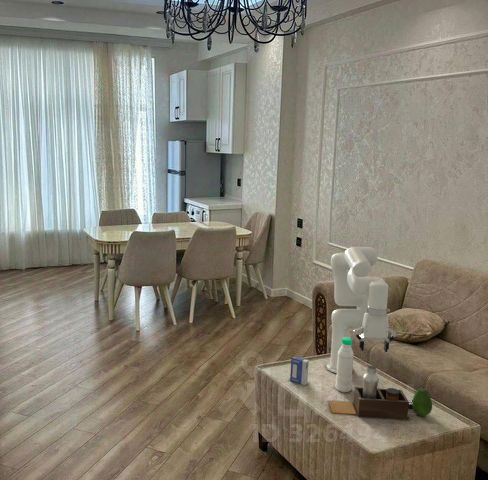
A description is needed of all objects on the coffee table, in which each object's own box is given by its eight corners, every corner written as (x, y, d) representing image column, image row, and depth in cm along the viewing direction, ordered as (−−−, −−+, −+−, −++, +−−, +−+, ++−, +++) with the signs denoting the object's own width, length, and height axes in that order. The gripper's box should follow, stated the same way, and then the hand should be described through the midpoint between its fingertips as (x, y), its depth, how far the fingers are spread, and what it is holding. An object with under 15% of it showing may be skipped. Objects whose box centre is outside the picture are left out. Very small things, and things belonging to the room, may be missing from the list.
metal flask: (379, 414, 230) (383, 370, 226) (364, 415, 228) (368, 371, 224) (371, 406, 236) (375, 363, 232) (357, 407, 235) (360, 364, 231)
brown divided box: (353, 403, 238) (354, 386, 236) (399, 406, 236) (401, 389, 234) (358, 416, 227) (359, 399, 226) (407, 419, 225) (409, 402, 224)
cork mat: (328, 401, 240) (328, 400, 239) (351, 403, 239) (351, 402, 238) (332, 413, 230) (332, 412, 230) (356, 414, 229) (356, 413, 229)
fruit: (435, 419, 226) (438, 393, 223) (417, 420, 224) (420, 394, 222) (424, 409, 233) (427, 384, 231) (407, 411, 232) (410, 385, 230)
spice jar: (383, 408, 234) (385, 387, 232) (395, 409, 233) (397, 388, 231) (386, 414, 229) (388, 393, 227) (398, 415, 228) (400, 393, 226)
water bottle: (351, 393, 247) (355, 342, 242) (335, 391, 249) (339, 340, 244) (350, 386, 254) (354, 336, 249) (334, 384, 255) (338, 335, 250)
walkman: (290, 380, 259) (291, 357, 257) (292, 378, 261) (293, 355, 259) (305, 385, 255) (306, 361, 252) (307, 383, 257) (309, 359, 255)
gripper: (395, 309, 226) (392, 348, 229) (353, 307, 227) (350, 345, 231) (400, 315, 218) (397, 354, 222) (357, 313, 220) (354, 352, 223)
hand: (373, 350), depth 226 cm, fingers open, 9 cm apart
